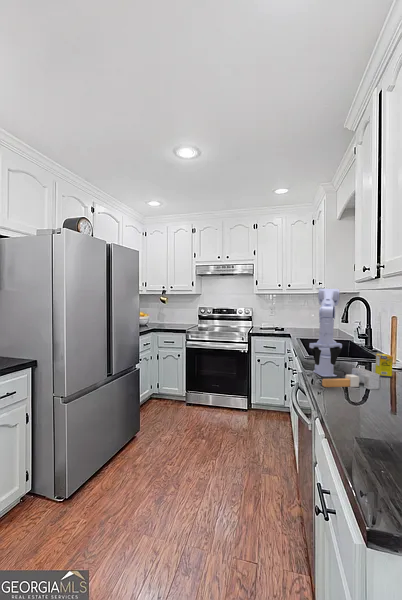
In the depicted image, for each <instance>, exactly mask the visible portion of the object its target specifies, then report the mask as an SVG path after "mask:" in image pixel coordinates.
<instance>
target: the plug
mask: <svg viewBox="0 0 402 600" xmlns="http://www.w3.org/2000/svg"><path fill="white" fill-rule="evenodd" d="M344 377H345V378H322V381H321V386H323V388H337V387H338V388H343V387H345V388H346V387H348V388H349V387H350V388H359V387H360V383H359V382H360V380H359V377H358V376H356V375H352V374H345V376H344Z"/></svg>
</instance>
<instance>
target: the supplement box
mask: <svg viewBox="0 0 402 600" xmlns="http://www.w3.org/2000/svg"><path fill="white" fill-rule="evenodd" d="M393 360H394V357H393V355H390V354H386V353H385V354H384V353H375V370H374V371H375V372H374V373H376V374H379V375H380V377H379V378H390V379H391V378H393Z"/></svg>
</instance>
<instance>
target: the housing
mask: <svg viewBox="0 0 402 600" xmlns="http://www.w3.org/2000/svg"><path fill="white" fill-rule="evenodd" d="M351 375H356V376H358V377H359V380H360V382H359V384H363V388H365V389H368V390H380V378H381V377H380V375H379V374H376V373H375V372H373V371H370V370H368V369H365V368H363V367H354V368H353V367H352V368H351Z"/></svg>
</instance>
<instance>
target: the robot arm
mask: <svg viewBox="0 0 402 600" xmlns="http://www.w3.org/2000/svg"><path fill="white" fill-rule="evenodd" d="M340 291H341V290H340V289H339V288H321V287H320V288H318V291H317V292H318V295H317V298H318V304H319V305H320V307H318V318H319V319H318V321H319V322H318V323H319V331H318V334H319V335H318V340H317V341H316V342H309V350H310V352H311V353H312V357H313V361H314V370H312V372H313V373H315V374H316V375H319V376H320V377H324V378H325V377H327V378H328V377H337V376H338V375H337V374H335V373H334V369H335V368H334V366H335V365H336V362H337V360H338V357H339V355H340V353H341V352H342V348H343V344H342V343H340V342H337V341H336V340H335V339H334V326H335V325H334V324H335V319H336V306H339V302H340Z"/></svg>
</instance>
